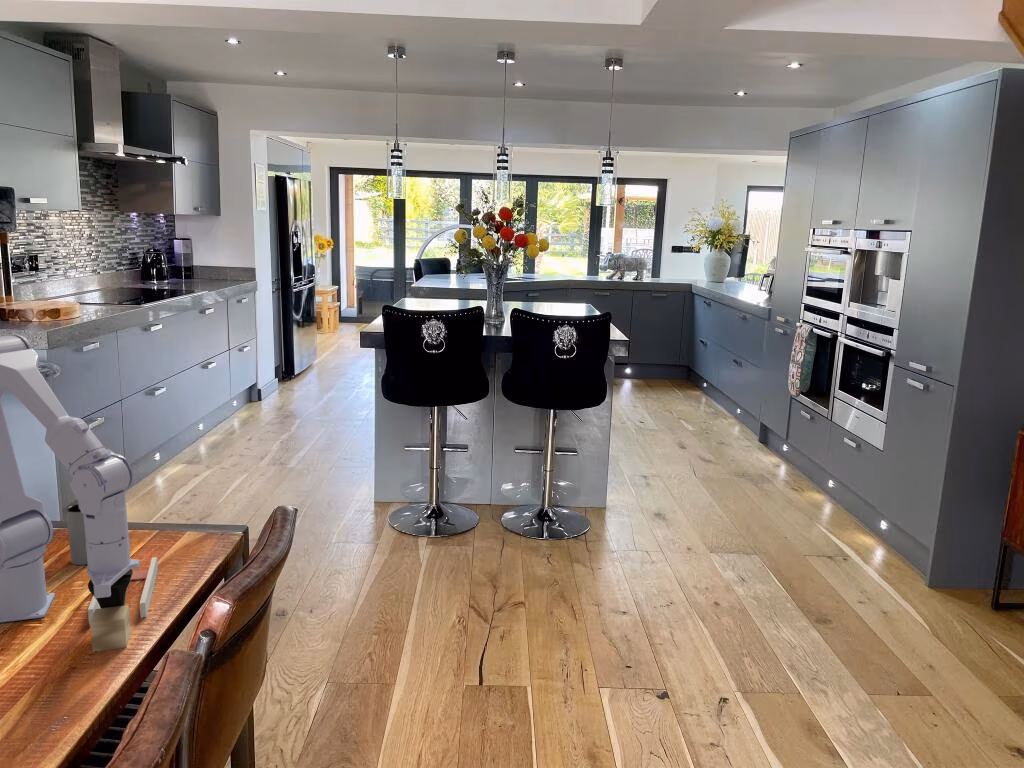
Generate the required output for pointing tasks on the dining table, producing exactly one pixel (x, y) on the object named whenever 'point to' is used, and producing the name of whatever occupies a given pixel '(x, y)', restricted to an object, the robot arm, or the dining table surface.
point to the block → (110, 628)
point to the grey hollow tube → (76, 535)
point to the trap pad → (139, 575)
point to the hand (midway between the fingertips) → (114, 620)
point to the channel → (145, 595)
